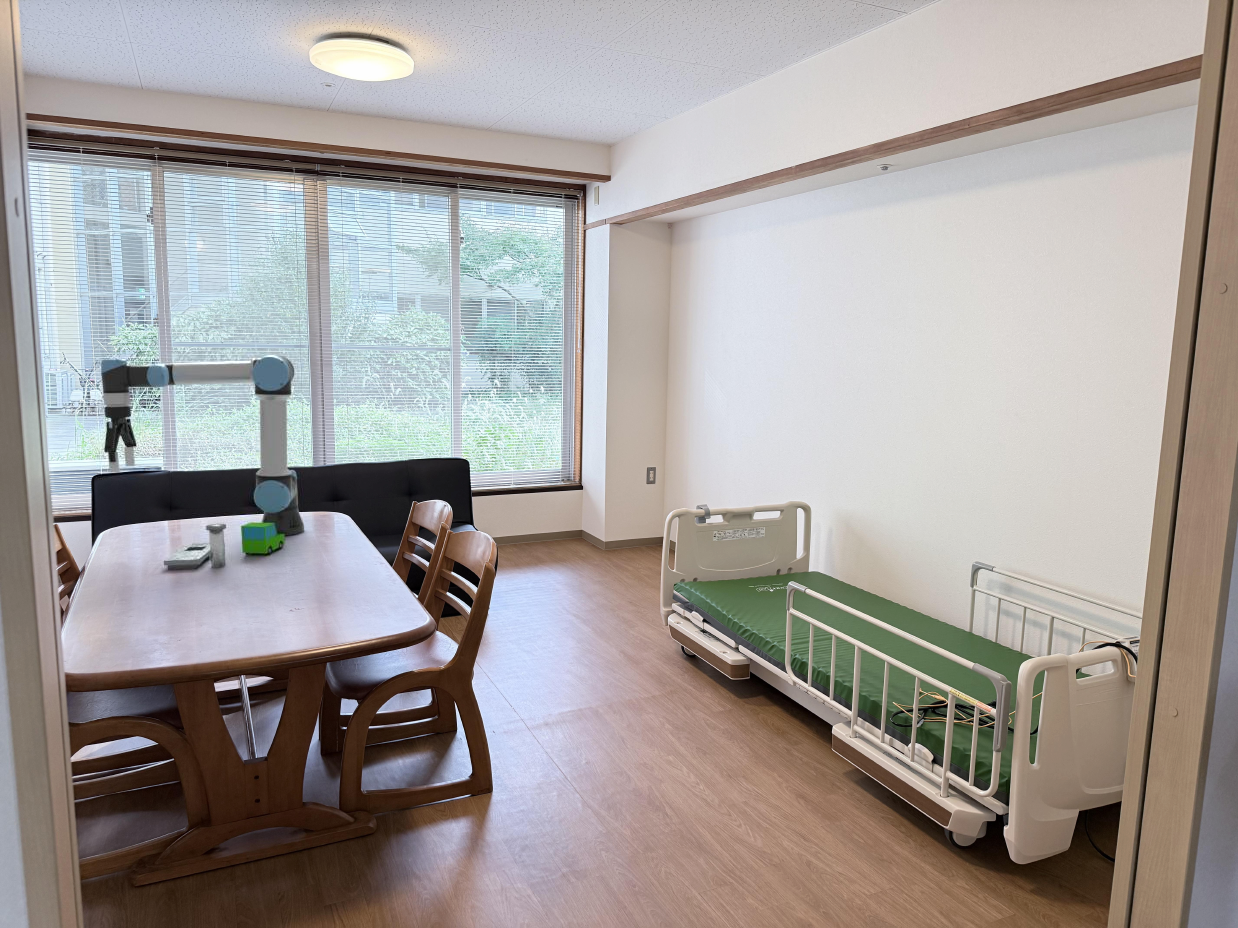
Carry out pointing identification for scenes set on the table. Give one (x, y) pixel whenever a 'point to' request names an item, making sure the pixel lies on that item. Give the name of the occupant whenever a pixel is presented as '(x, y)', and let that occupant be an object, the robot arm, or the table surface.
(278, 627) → the table surface
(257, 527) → the toy car
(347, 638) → the table surface
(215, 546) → the pin
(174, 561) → the plate with square hole
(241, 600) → the table surface
